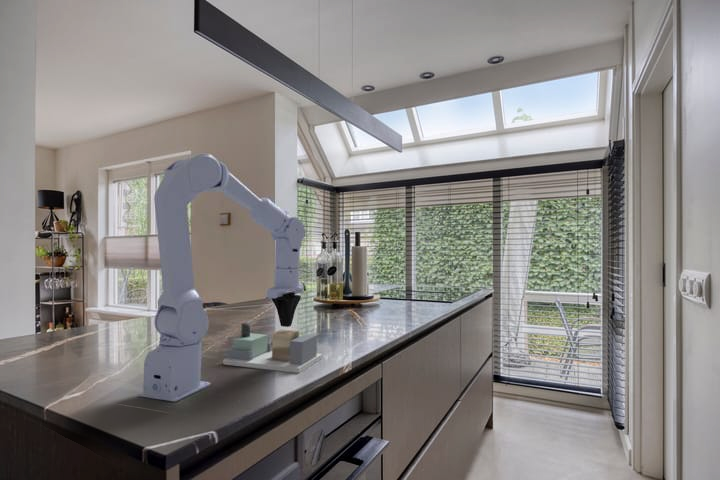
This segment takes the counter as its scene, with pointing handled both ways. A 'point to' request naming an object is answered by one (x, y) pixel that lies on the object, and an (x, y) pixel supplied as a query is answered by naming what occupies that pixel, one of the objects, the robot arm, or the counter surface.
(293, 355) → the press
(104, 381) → the counter surface
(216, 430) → the counter surface
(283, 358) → the block
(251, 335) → the mint block with peg
